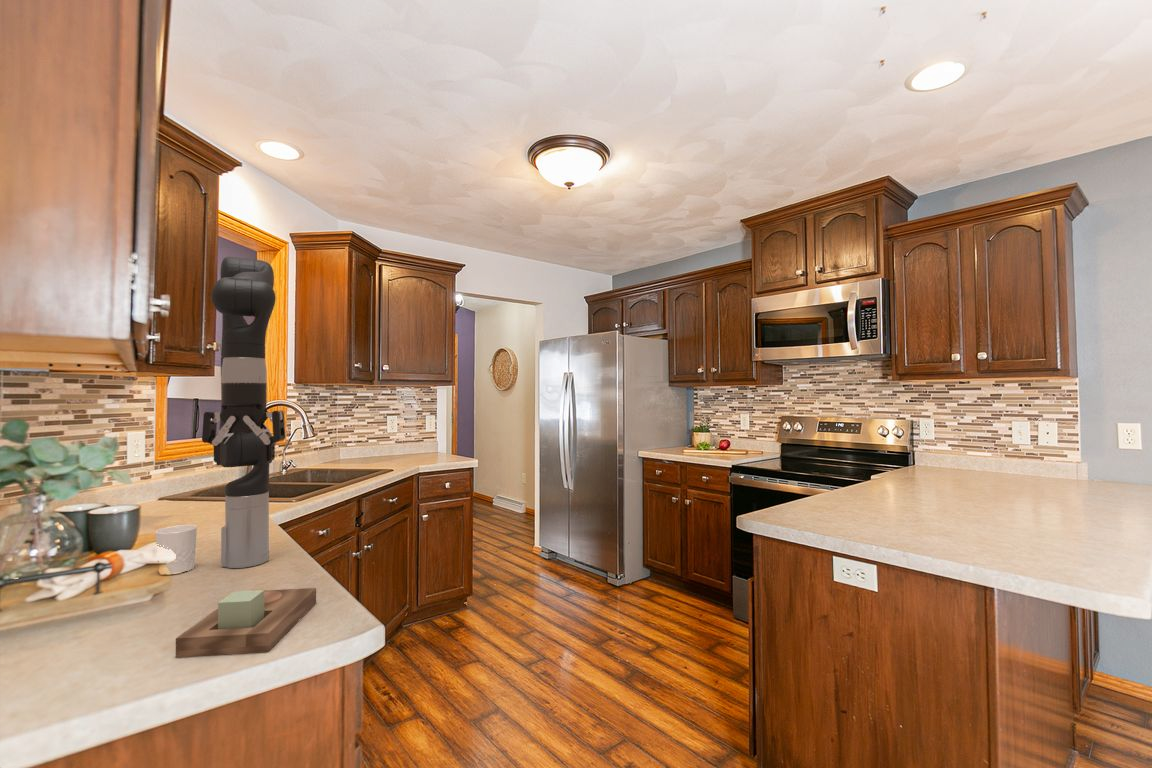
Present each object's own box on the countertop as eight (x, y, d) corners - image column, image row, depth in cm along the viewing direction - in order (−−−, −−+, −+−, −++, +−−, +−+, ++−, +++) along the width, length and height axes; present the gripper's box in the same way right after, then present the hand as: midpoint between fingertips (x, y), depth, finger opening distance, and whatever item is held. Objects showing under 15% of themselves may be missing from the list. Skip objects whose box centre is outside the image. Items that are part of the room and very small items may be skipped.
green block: (218, 639, 88) (218, 602, 88) (234, 625, 93) (234, 591, 93) (249, 637, 88) (249, 601, 88) (264, 624, 93) (264, 590, 93)
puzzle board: (175, 657, 84) (175, 634, 84) (241, 606, 103) (241, 588, 104) (268, 651, 85) (268, 629, 85) (316, 603, 105) (316, 584, 105)
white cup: (152, 571, 125) (152, 529, 125) (192, 563, 131) (192, 523, 131) (158, 579, 120) (159, 535, 120) (200, 570, 126) (200, 528, 126)
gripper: (290, 381, 108) (290, 460, 108) (216, 382, 106) (216, 462, 106) (273, 380, 100) (273, 465, 100) (193, 381, 99) (193, 467, 99)
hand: (244, 464), depth 103 cm, fingers open, 8 cm apart
